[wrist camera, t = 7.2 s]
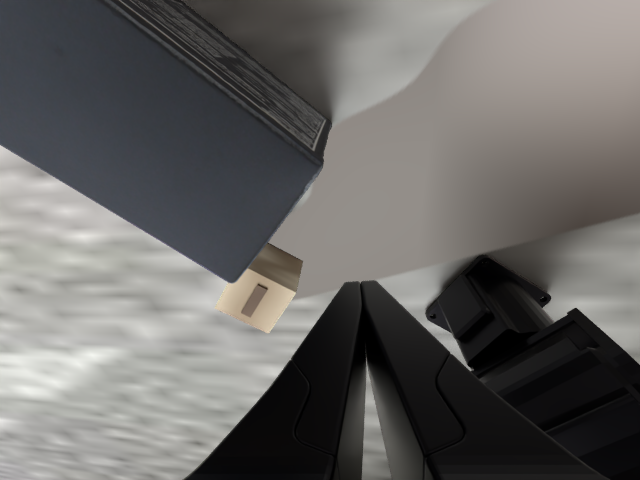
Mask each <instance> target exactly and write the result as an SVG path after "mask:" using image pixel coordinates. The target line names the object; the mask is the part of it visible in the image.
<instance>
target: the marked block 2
mask: <svg viewBox="0 0 640 480" xmlns="http://www.w3.org/2000/svg"><path fill="white" fill-rule="evenodd" d="M302 263H303V261H302V260H300V259H298V258H296V257H294V256H293V255H291V254H289V253H287V252H285V251H283V250H281V249H279V248H277V247H275V246H274V245H272V244H270V243H267V244H266V245H265V247H264V248H263V249H262V250H261V252H260V253H259V254H258V255H257V257H256V258H255V259H254V261H253V262H252V263H251V265H250V266H249V267H248V268H247V270H246V271H245V272H244V273H243V275H242V276H241V277H240V278H239V279H238V281H237V282H235V283H233V284H231V283H228V284H227V286H226V288H225V289H224V291H223V293H222V295H221V297H220V299H219V301H218V302H217V304H216V306H215V309H217V310H220V311H222V312H224V313H226V314H228V315H230V316H232V317H234V318H236V319H239V320H241V321H243V322H245V323H247V324H249V325H251V326H253V327H256V328H258V329H260V330H262V331H264V332H266V333H268V334H269V332H270V331H271V329H272V328H273V326H274V325H275V323H276V322H277V320H278V319H279V318H280V316H281V315H282V313H283V312H284V310H285V309H286V307H287V306H288V304H289V303H290V301H291V300H292V298H293V296H294V295H295V294H296V291H297V287H298V282H299V277H300V273H301V268H302Z"/></svg>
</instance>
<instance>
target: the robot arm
mask: <svg viewBox="0 0 640 480" xmlns="http://www.w3.org/2000/svg"><path fill="white" fill-rule="evenodd" d="M483 261H487V262H486V263H485V264H482V262H483ZM541 297H543V298H542V299H540V298H541ZM550 300H551V296H550V295H549V294H548V293H547V292H546V291H545V290H543V289H541V288H540V287H538V286H536V285H535V284H533V283H532V282H530V281H528V280H527V279H525V278H523V277H522V276H520V275H519V274H517V273H515V272H514V271H512V270H510V269H509V268H507V267H506V266H504V265H502V264H501V263H499V262H497V261H496V260H494V259H493V258H491V257H489V256H487V255H481V256H479V257H478V258H477V259H476V260H475V261H474V262H473V263H472V264H471V265H470V266H469V267H468V268H467V269H466V270H465V271H464V272H463V273H462V274H461V275H460V276H458V278H457V279H456V280H455V281H454V282H453V283H452V284H451V285H450V286H449V287H448V288H447V289H446V290H445V291H444V292H443V293H442V294H441V295H440V296H439V297H438V299H437V300H436V301H435V302H434V303H433V304H432V305H431V306H430V308H429V309H428V310H427V311H426V313H425V314H426V317H427V319H428V320H429V321H430V322H432V323H434V324H436V325H438V326H440V327H441V328H443V329H445V330H447V331H449V332H451V333H452V335H453V337H454V338H455V339H456V341H457V343H458V345H459V348H460V350H461V352H462V354H463V356H464V359H465V361H466V363H467V365H468V366H469V367H470V368H471V370H472V371H469V370H468V369H467V368H466V367H465V366H464V365H463V364H462V363H461V362H460V361H459V360H458V359H457V358H456V357H455V356H454V355H452V354H450V352H449V351H448V350H447V349H446V348H445V347H444V346H443V345H442V344H441V343H440V342H439V341H438V340H437V339H436V338H435V337H434V336H433V335H432V334H431V333H430V332H429V331H428V330H427V329H426V328H424V327H423V326H422V325H421V324H420V323H419V322H418V321H417V320H416V319H415V318H414V317H413V316H412V315H411V314H410V313H409V312H408V311H407V310H406V309H405V308H404V307H403V306H402V305H401V304H400V303H399V302H398V301H397V300H395V299H394V298H393V297H392V296H391V295H390V294H389V293H388V292H387V291H386V290H385V289H384V288H383V287H382V286H381V285H380V284H379V283H378V282H377V281H375V280H371V281H362V282H361V285H360V282H358V281H356V282H346V283H344V285H343V286H342V287H341V289H340V290H339V291H338V293H337V294H336V296H335V297H334V298H333V300H332V301H331V303H330V304H329V306H328V307H327V308H326V310H325V311H324V313H323V314H322V315H321V317H320V318H319V320H318V321H317V322H316V324H315V325H314V327H313V328H312V330H311V331H310V332H309V334H308V335H307V337H306V338H305V339H304V341H303V342H302V344H301V345H300V346H299V348H298V349H297V351H296V352H295V353H294V355H293V356H292V358H291V360H289V362H288V363H287V364H286V366H285V367H284V369H283V370H282V372H281V373H280V374H279V375H278V377H277V378H276V379H275V381H274V382H273V383H272V385H271V386H270V387H269V389H268V390H267V391H266V392H265V393H264V394H263V396H262V397H261V398H260V399H259V400H258V401H257V403H256V404H255V405H254V406H253V407H252V408H251V410H250V411H249V412H248V413H247V414H246V415H245V416H244V417H243V418H242V420H241V421H240V422H239V423H238V424H237V425H236V426H235V427H234V428H233V429H232V431H231V432H230V433H229V434H228V435H227V436H226V437H225V438H224V439H223V441H222V442H221V443H220V444H219V445H218V446H217V447H216V448H215V449H214V451H213V452H212V453H211V454H210V455H209V456H208V457H207V458H206V459H205V460H204V461H203V462H202V463H201V464H200V465H199V466H198V467H197V468H196V469H195V470H194V471H193V472H192V473H191V474H189V475H188V476H187V477H186V478H184V479H183V480H362V458H363V436H364V413H365V391H366V358H367V366H368V371H369V376H370V380H371V385H372V389H373V394H374V399H375V403H376V408H377V412H378V417H379V422H380V426H381V431H382V435H383V440H384V444H385V449H386V454H387V458H388V463H389V467H390V472H391V476H392V480H640V365H639V364H638V363H637V362H636V361H635V360H634V359H633V358H632V357H631V356H630V355H629V354H628V353H627V352H625V351H624V350H623V349H622V348H621V347H620V346H619V345H618V344H617V343H615V342H614V341H613V340H612V339H611V338H610V337H609V336H608V335H606V334H605V333H604V332H603V331H602V330H601V329H600V328H599V327H597V326H596V325H595V324H594V323H593V322H592V321H591V320H589V319H588V318H587V317H586V316H585V315H584V314H583V313H582V312H580V311H579V310H578V309H577V308H574V309H573V310H571V311H569V312H568V313H567V314H568V315H567V316H565V317H563V318H561V319H560V320H558V321H556V322H554V321H553V320H552V319H551V317H550V316H549V315H548V314H547V313H546V312H545V311H544V310H543V309H542V308H543V307H544V306H545V305H546V304H547V303H549V301H550ZM431 314H435V315H433V316H430V315H431Z"/></svg>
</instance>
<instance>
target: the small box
mask: <svg viewBox="0 0 640 480" xmlns="http://www.w3.org/2000/svg"><path fill="white" fill-rule="evenodd" d="M331 127H332V123H331V121H329V120H328V119H327V118H325V117H324V116H323V115H322V114H321V113H319V112H318V111H317V110H316V109H315V108H314V107H312V106H311V105H310V104H308V103H307V102H306V101H305V100H303V99H302V98H301V97H300V96H299V95H297V94H296V93H295V92H294V91H292V90H291V89H290V88H289V87H288V86H287V85H286V84H284V83H283V82H281V81H280V80H279V79H278V78H276V77H275V76H274V75H273V74H272V73H270V72H269V71H268V70H266V69H265V68H264V67H263V66H262V65H260V64H259V63H258V62H257V61H256V60H254V59H253V58H252V57H251V56H249V55H248V53H247V52H246V51H244V50H243V49H241V48H240V47H238V45H237V44H235V43H234V42H232V41H231V40H230V39H229V38H228V37H226V36H225V35H224V34H223V33H222V32H220V31H219V30H218V29H216V28H215V27H214V26H213V25H211V24H210V23H208V22H207V21H206V20H205V19H203V18H202V17H201V16H199V15H198V14H197V13H196V12H194V11H193V10H192V9H191V8H189V7H188V6H187V5H186V4H185V3H184V2H182V1H181V0H0V145H1V146H3V147H4V148H6V149H8V150H9V151H11V152H13V153H14V154H16V155H18V156H20V157H21V158H23V159H25V160H26V161H28V162H30V163H31V164H33V165H35V166H36V167H38V168H40V169H41V170H43V171H45V172H47V173H48V174H50V175H52V176H53V177H55V178H57V179H58V180H60V181H62V182H63V183H65V184H67V185H68V186H70V187H72V188H73V189H75V190H77V191H78V192H80V193H82V194H83V195H85V196H86V197H88V198H90V199H91V200H93V201H95V202H96V203H98V204H100V205H101V206H103V207H105V208H106V209H108V210H110V211H111V212H113V213H115V214H116V215H118V216H120V217H121V218H123V219H125V220H126V221H128V222H130V223H131V224H133V225H135V226H136V227H138V228H140V229H141V230H143V231H145V232H146V233H148V234H150V235H151V236H153V237H154V238H156V239H158V240H159V241H161V242H163V243H164V244H166V245H168V246H169V247H171V248H173V249H174V250H176V251H178V252H179V253H181V254H183V255H184V256H186V257H187V258H189V259H191V260H192V261H194V262H196V263H197V264H199V265H201V266H202V267H204V268H206V269H207V270H209V271H210V272H212V273H214V274H215V275H217V276H219V277H220V278H222V279H224V280H225V281H227V282H228V283H231V284H233V283H235V282H237V281H238V279H239V278H240V277H241V276H242V275H243V273H244V272H245V271H246V270H247V268H248V267H249V266H250V265H251V263H252V262H253V261H254V259H255V258H256V257H257V255H258V254H259V253H260V252H261V250H262V249H263V248H264V247H265V245H266V244H267V243H268V241H269V240H270V238H271V237H272V236H273V234H274V233H275V232H276V230H277V229H278V228H279V226H280V225H281V224H282V223H283V221H284V219H285V218H286V217H287V216H288V215H289V213H290V212H291V211H292V209H293V208H294V207H295V205H296V204H297V203H298V201H299V200H300V199H301V197H302V196H303V195H304V193H305V192H306V191H307V189H308V188H309V186H310V185H311V183H312V182H313V181H314V180H315V178H316V177H317V176H318V175H319V173H320V171H321V169H322V168H323V162H324V159H323V156H324V150H325V146H326V143H327V139H328V134H329V131H330V129H331Z"/></svg>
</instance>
